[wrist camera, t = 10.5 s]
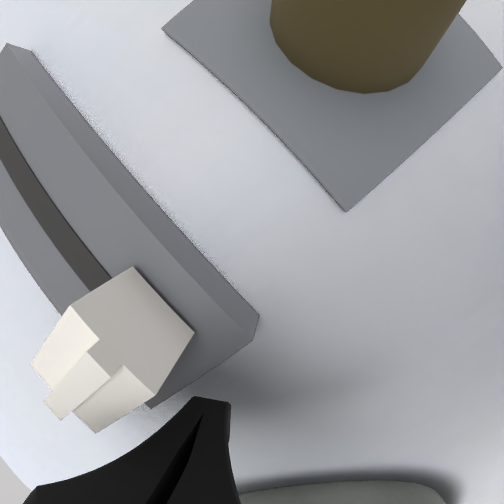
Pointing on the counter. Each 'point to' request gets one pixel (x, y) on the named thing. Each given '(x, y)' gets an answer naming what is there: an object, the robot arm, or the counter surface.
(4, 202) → the switch bar
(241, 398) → the counter surface
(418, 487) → the cake pan
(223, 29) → the slate mat
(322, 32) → the cork
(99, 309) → the switch tab
